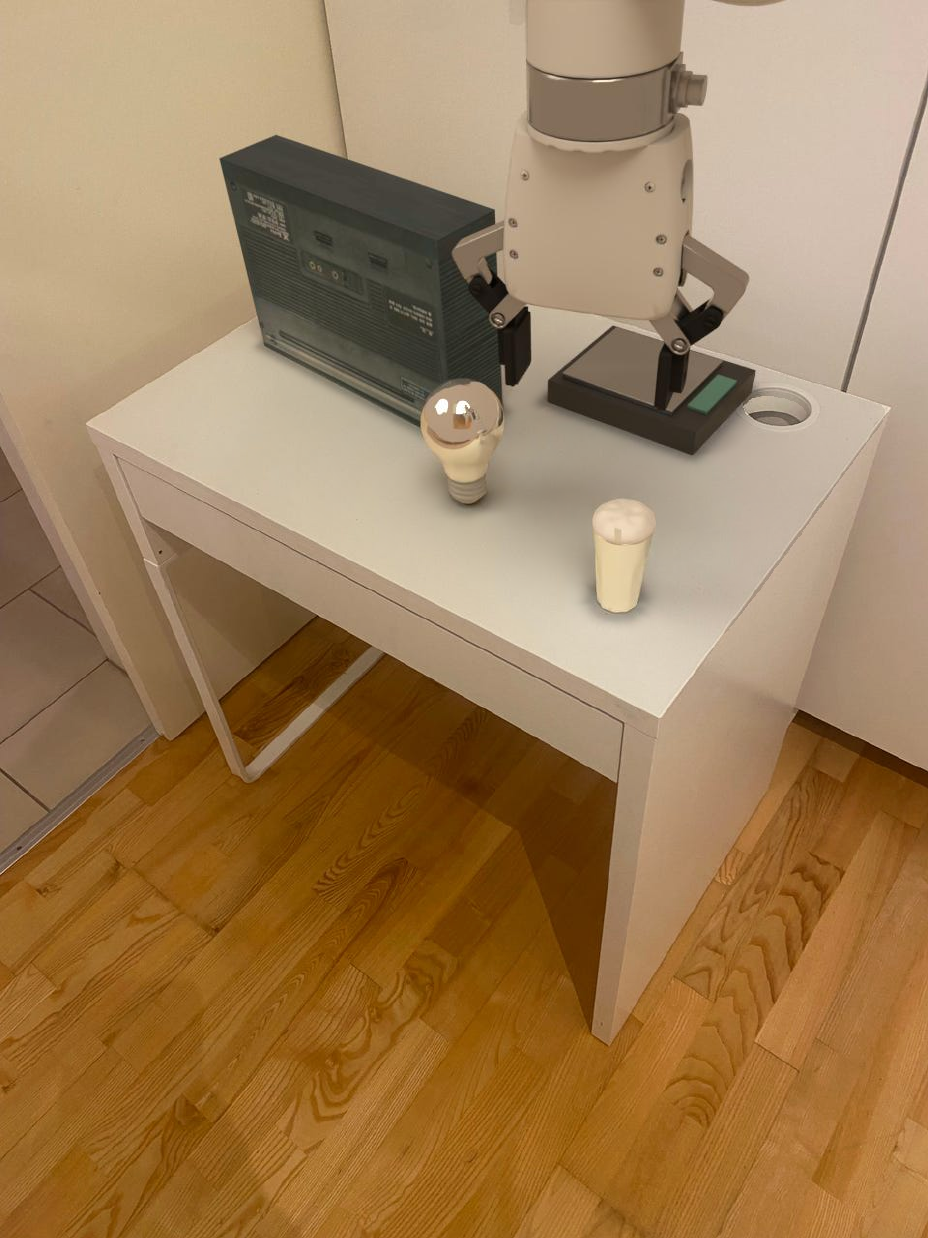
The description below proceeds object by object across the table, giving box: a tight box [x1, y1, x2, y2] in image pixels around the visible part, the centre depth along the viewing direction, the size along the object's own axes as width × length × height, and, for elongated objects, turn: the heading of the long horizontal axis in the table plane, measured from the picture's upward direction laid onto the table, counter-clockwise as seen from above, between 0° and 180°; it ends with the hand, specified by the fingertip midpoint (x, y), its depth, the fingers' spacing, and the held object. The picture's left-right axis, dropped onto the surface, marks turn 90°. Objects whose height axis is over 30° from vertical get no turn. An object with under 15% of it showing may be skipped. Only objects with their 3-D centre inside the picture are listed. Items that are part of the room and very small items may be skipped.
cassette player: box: [218, 134, 504, 428], centre depth 93 cm, size 29×7×20 cm, turn 47°
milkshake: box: [591, 497, 656, 614], centre depth 72 cm, size 5×5×10 cm
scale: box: [547, 325, 757, 456], centre depth 93 cm, size 16×12×3 cm
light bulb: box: [420, 378, 505, 505], centre depth 81 cm, size 7×7×12 cm
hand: (590, 386), depth 61 cm, fingers open, 9 cm apart
